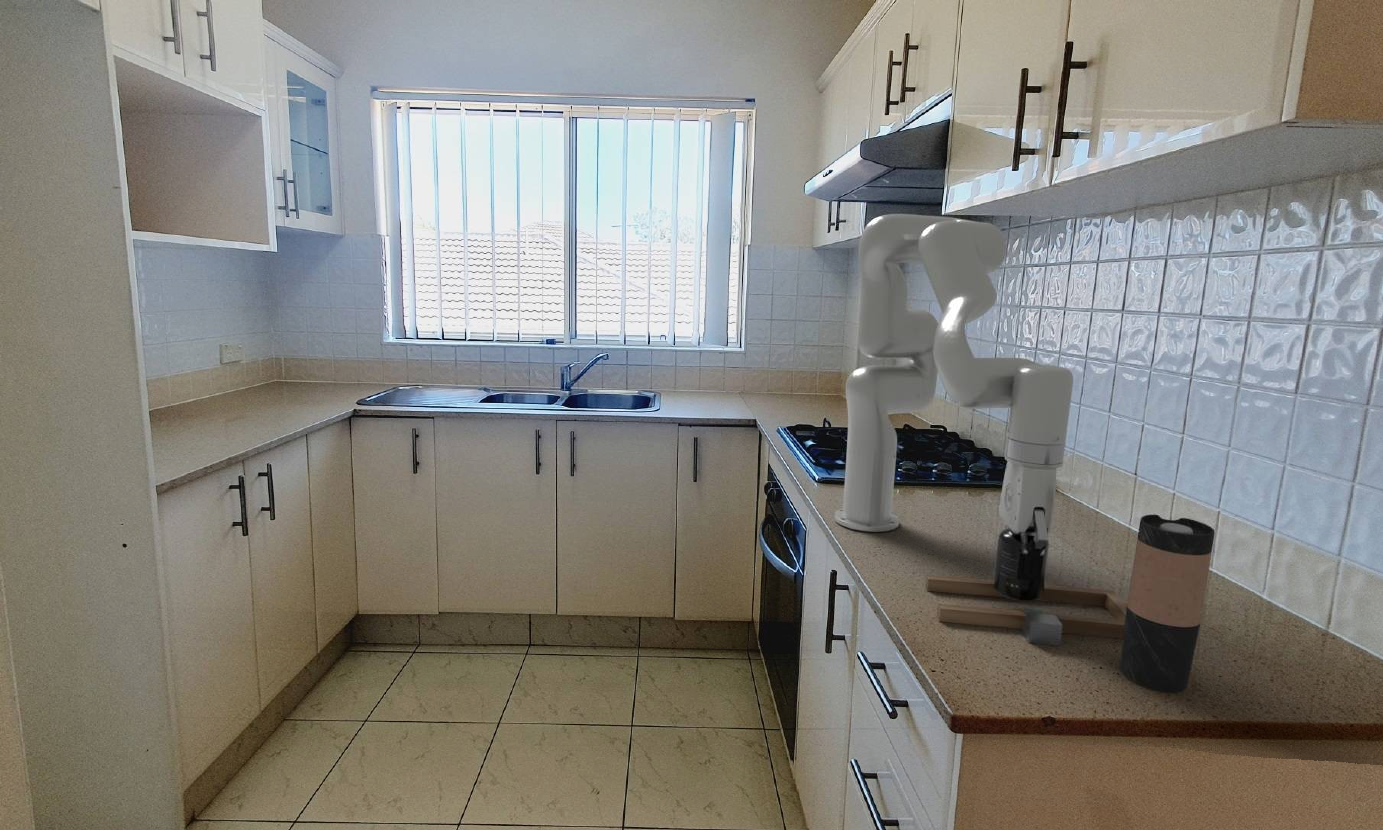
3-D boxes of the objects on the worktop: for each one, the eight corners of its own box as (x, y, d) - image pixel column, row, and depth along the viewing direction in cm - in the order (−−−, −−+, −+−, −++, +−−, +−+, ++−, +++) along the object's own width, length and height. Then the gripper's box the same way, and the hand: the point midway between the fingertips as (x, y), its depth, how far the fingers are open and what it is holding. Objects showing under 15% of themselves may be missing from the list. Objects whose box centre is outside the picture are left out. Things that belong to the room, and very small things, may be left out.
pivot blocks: (991, 582, 117) (993, 565, 116) (1017, 584, 116) (1019, 567, 116) (1028, 642, 98) (1030, 622, 97) (1059, 645, 97) (1062, 624, 96)
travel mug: (1162, 699, 85) (1189, 538, 81) (1103, 667, 92) (1125, 517, 88) (1204, 686, 88) (1231, 530, 84) (1143, 656, 95) (1166, 511, 91)
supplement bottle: (1000, 578, 112) (1009, 504, 109) (1048, 591, 107) (1058, 515, 105) (986, 592, 106) (994, 515, 104) (1035, 607, 102) (1045, 526, 100)
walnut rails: (925, 586, 115) (926, 572, 114) (1110, 602, 111) (1112, 588, 110) (939, 621, 103) (940, 606, 103) (1146, 640, 99) (1149, 625, 99)
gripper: (992, 437, 112) (980, 545, 115) (1023, 465, 95) (1008, 591, 98) (1043, 440, 110) (1030, 550, 114) (1084, 469, 94) (1067, 597, 97)
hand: (1020, 568), depth 106 cm, fingers closed on supplement bottle, 6 cm apart
